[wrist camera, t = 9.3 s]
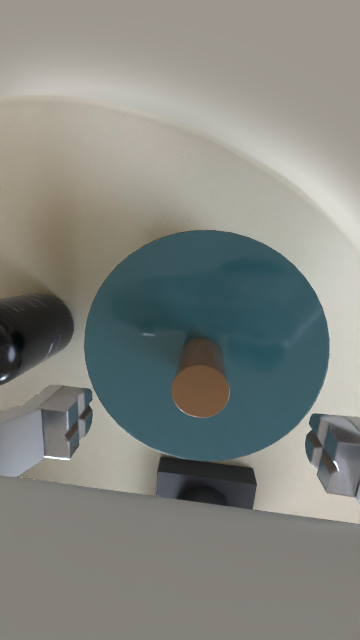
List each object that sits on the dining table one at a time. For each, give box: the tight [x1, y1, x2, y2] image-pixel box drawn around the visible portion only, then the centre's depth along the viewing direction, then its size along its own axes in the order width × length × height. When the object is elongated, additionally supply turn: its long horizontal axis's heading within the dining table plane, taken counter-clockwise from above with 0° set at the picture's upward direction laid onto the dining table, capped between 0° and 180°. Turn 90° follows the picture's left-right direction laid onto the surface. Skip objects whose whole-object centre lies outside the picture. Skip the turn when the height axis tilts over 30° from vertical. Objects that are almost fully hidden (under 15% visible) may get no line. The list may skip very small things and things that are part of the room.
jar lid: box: [84, 230, 329, 461], centre depth 13 cm, size 15×15×5 cm
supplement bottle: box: [0, 293, 74, 385], centre depth 22 cm, size 7×7×12 cm
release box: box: [156, 457, 257, 510], centre depth 29 cm, size 11×9×4 cm
